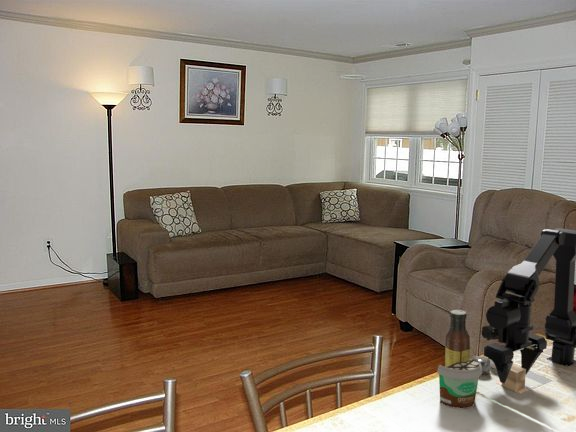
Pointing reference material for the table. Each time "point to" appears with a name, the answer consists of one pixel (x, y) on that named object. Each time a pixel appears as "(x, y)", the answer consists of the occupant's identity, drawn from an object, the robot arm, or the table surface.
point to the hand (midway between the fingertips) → (513, 378)
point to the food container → (459, 383)
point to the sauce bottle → (457, 339)
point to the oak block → (515, 378)
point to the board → (532, 382)
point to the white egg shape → (492, 364)
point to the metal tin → (484, 364)
